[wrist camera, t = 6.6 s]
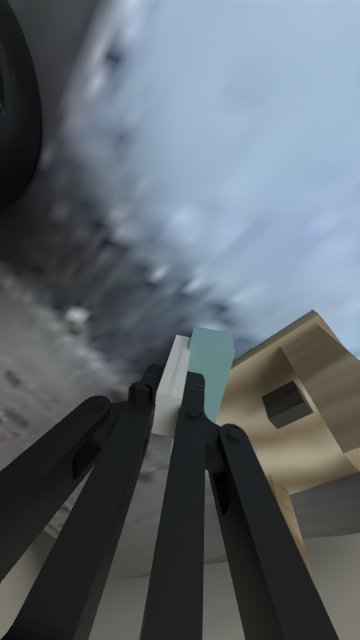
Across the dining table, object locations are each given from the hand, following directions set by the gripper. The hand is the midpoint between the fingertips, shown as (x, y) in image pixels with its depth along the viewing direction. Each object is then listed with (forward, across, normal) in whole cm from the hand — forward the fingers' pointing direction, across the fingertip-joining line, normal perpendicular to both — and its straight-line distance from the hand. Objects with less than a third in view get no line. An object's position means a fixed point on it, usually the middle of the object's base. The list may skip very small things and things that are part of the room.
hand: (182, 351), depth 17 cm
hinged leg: (+1, +2, -4) cm, 4 cm away
